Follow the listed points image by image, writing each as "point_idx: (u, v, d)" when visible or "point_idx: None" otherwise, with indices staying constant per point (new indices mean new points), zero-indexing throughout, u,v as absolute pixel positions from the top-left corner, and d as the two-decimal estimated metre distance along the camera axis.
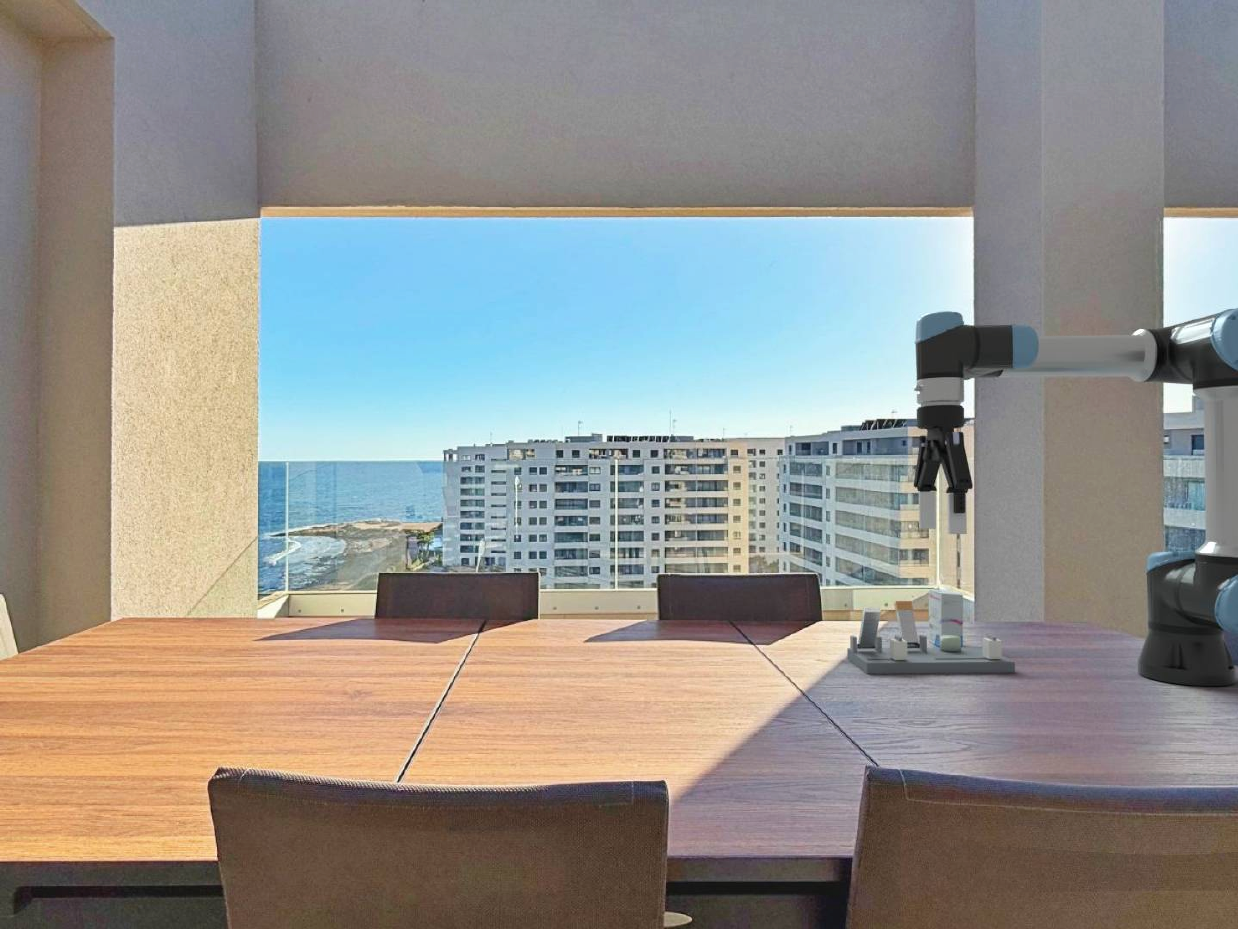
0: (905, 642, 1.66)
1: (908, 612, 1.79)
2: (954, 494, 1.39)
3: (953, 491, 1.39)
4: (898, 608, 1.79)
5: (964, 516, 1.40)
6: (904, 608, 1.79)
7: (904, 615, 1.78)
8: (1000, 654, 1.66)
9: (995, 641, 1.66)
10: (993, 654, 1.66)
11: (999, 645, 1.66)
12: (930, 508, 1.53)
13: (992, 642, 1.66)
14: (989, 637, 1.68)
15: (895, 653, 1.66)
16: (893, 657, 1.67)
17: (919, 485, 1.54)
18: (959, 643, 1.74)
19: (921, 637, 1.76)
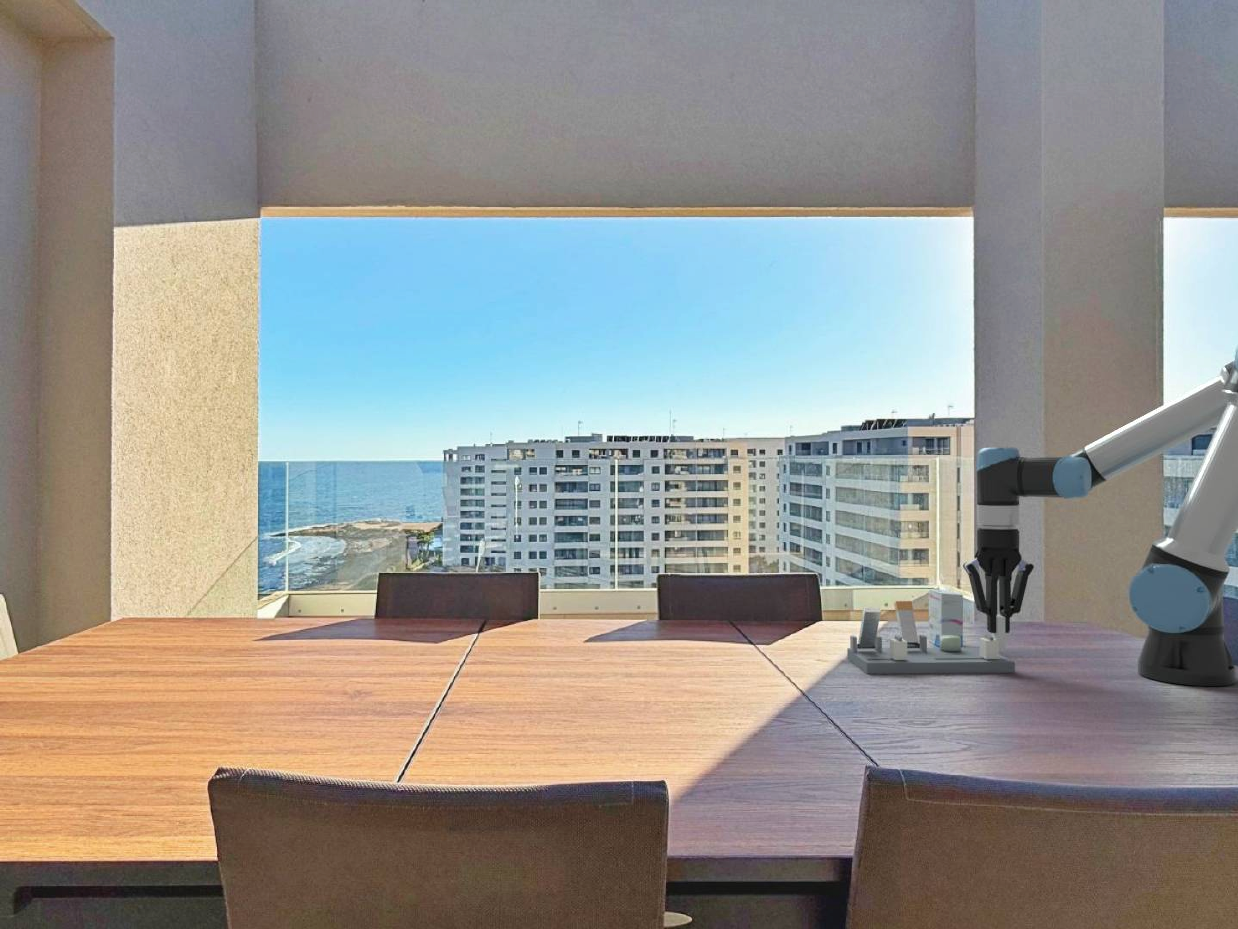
0: (905, 642, 1.66)
1: (908, 612, 1.79)
2: None
3: None
4: (898, 608, 1.79)
5: (997, 636, 1.67)
6: (904, 608, 1.79)
7: (904, 615, 1.78)
8: (997, 654, 1.66)
9: (992, 641, 1.66)
10: (990, 654, 1.66)
11: (996, 645, 1.66)
12: None
13: (989, 642, 1.66)
14: (986, 637, 1.68)
15: (895, 653, 1.66)
16: (893, 657, 1.67)
17: None
18: (959, 643, 1.74)
19: (921, 637, 1.76)
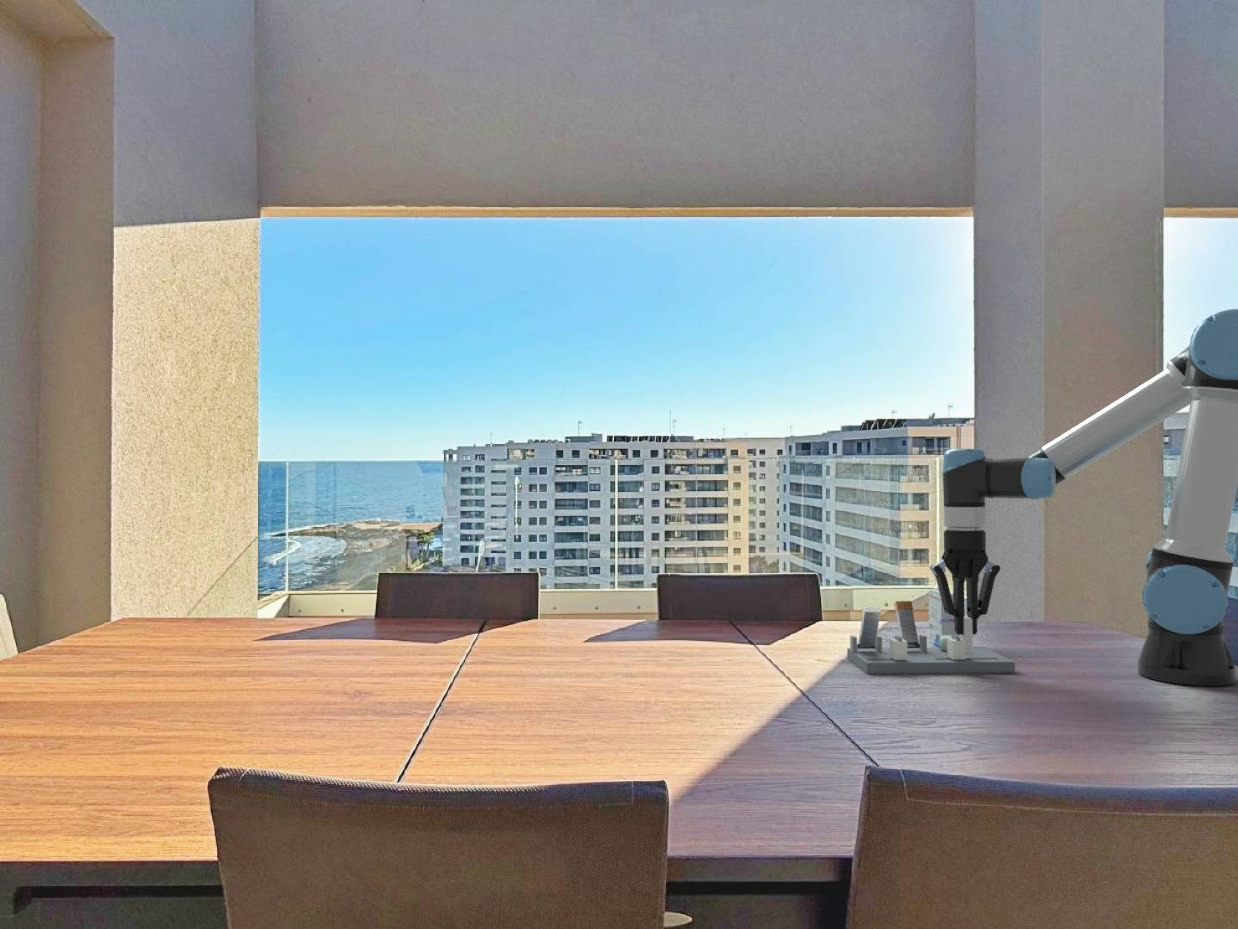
0: (905, 642, 1.66)
1: (908, 612, 1.79)
2: None
3: None
4: (898, 608, 1.79)
5: (964, 637, 1.67)
6: (904, 608, 1.79)
7: (904, 615, 1.78)
8: (964, 654, 1.66)
9: (959, 641, 1.66)
10: (957, 654, 1.66)
11: (962, 645, 1.66)
12: None
13: (955, 642, 1.66)
14: (953, 637, 1.68)
15: (895, 653, 1.66)
16: (893, 657, 1.67)
17: None
18: None
19: (921, 637, 1.76)
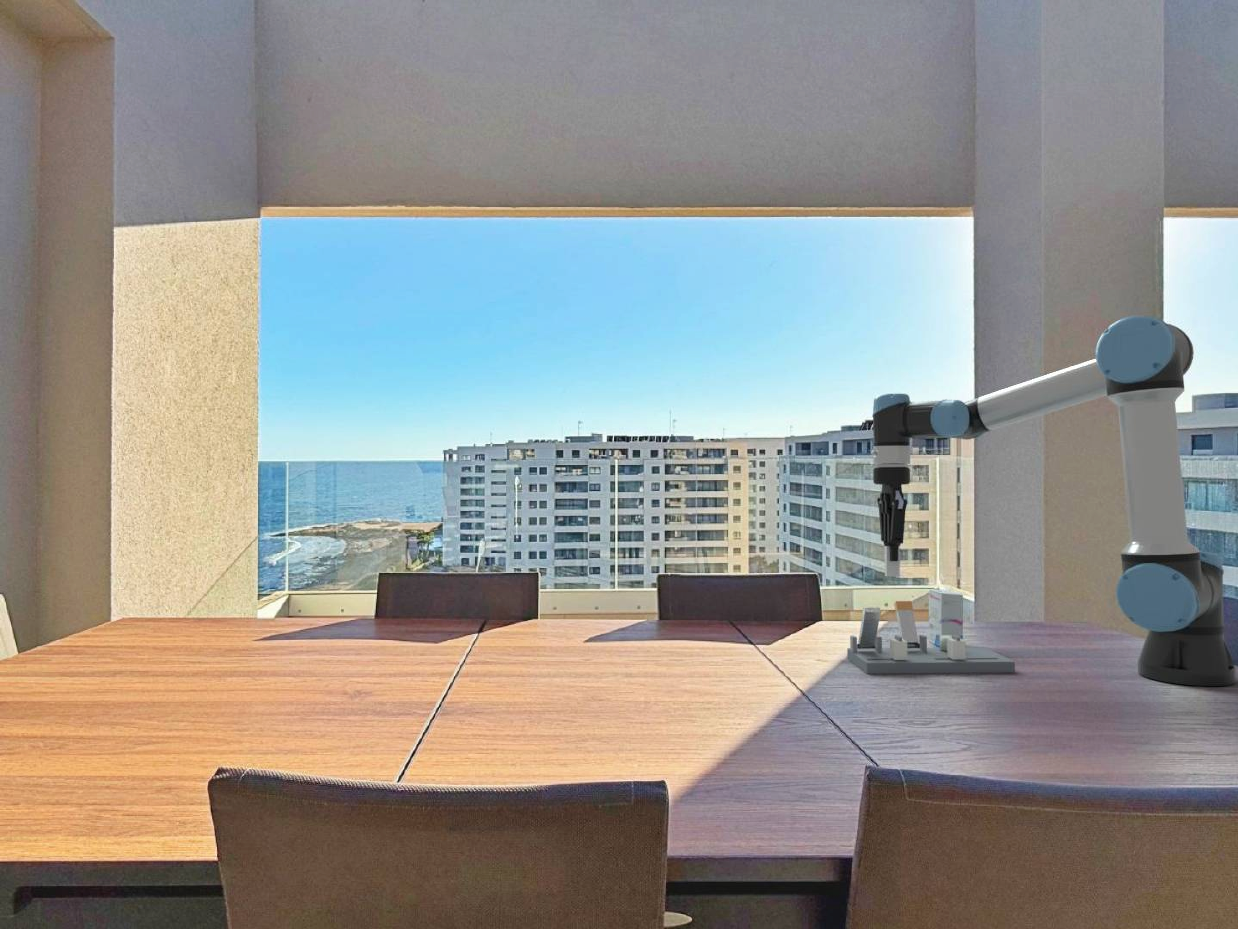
0: (905, 642, 1.66)
1: (908, 612, 1.79)
2: (890, 546, 1.86)
3: (889, 545, 1.86)
4: (898, 608, 1.79)
5: (897, 563, 1.86)
6: (904, 608, 1.79)
7: (904, 615, 1.78)
8: (964, 654, 1.66)
9: (959, 641, 1.66)
10: (957, 654, 1.66)
11: (962, 645, 1.66)
12: None
13: (955, 642, 1.66)
14: (953, 637, 1.68)
15: (895, 653, 1.66)
16: (893, 657, 1.67)
17: (884, 538, 1.88)
18: None
19: (921, 637, 1.76)
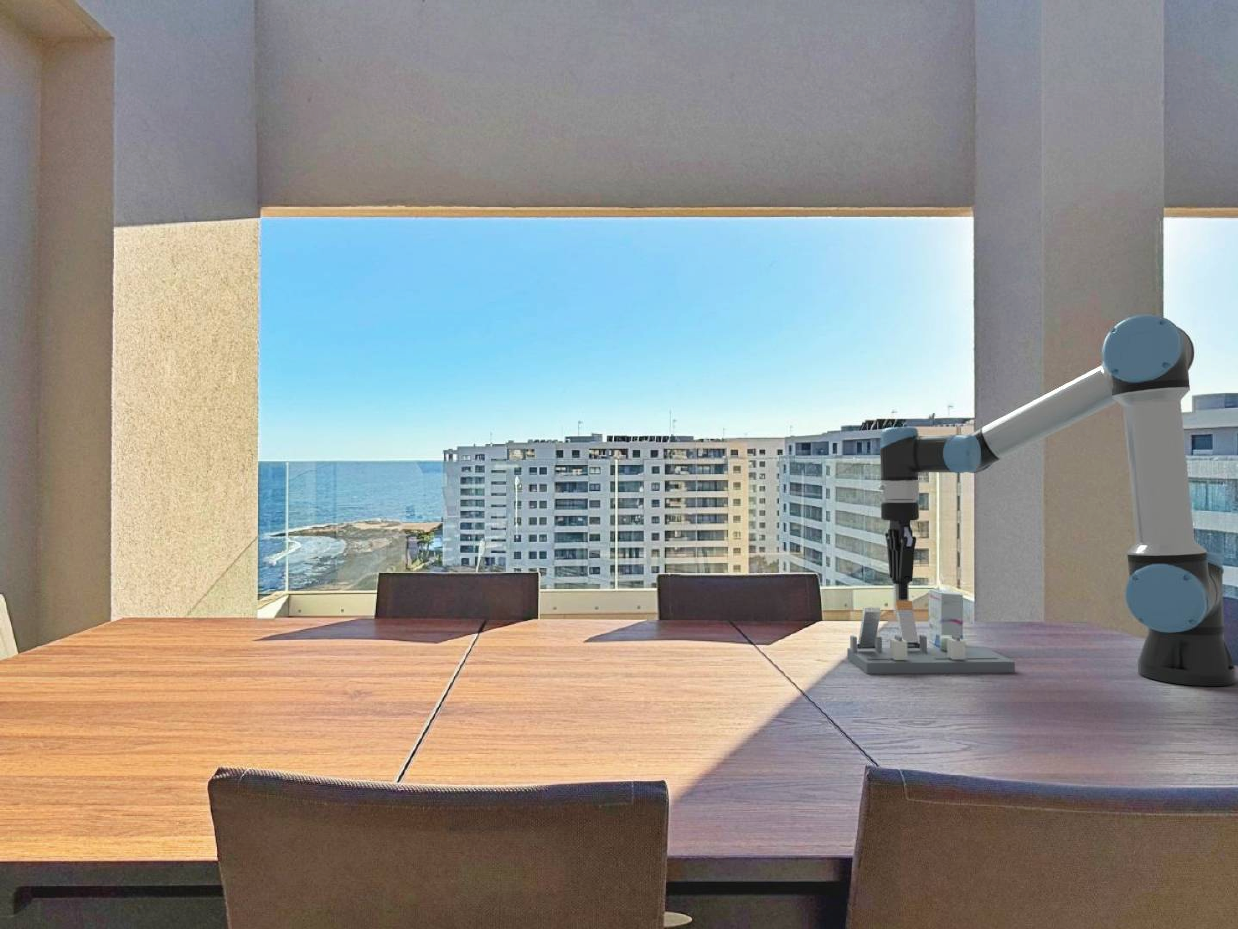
0: (905, 642, 1.66)
1: (908, 612, 1.79)
2: (899, 584, 1.81)
3: (897, 583, 1.80)
4: (898, 608, 1.79)
5: None
6: (904, 608, 1.79)
7: (904, 615, 1.78)
8: (964, 654, 1.66)
9: (959, 641, 1.66)
10: (957, 654, 1.66)
11: (962, 645, 1.66)
12: None
13: (955, 642, 1.66)
14: (953, 637, 1.68)
15: (895, 653, 1.66)
16: (893, 657, 1.67)
17: (893, 576, 1.83)
18: None
19: (921, 637, 1.76)
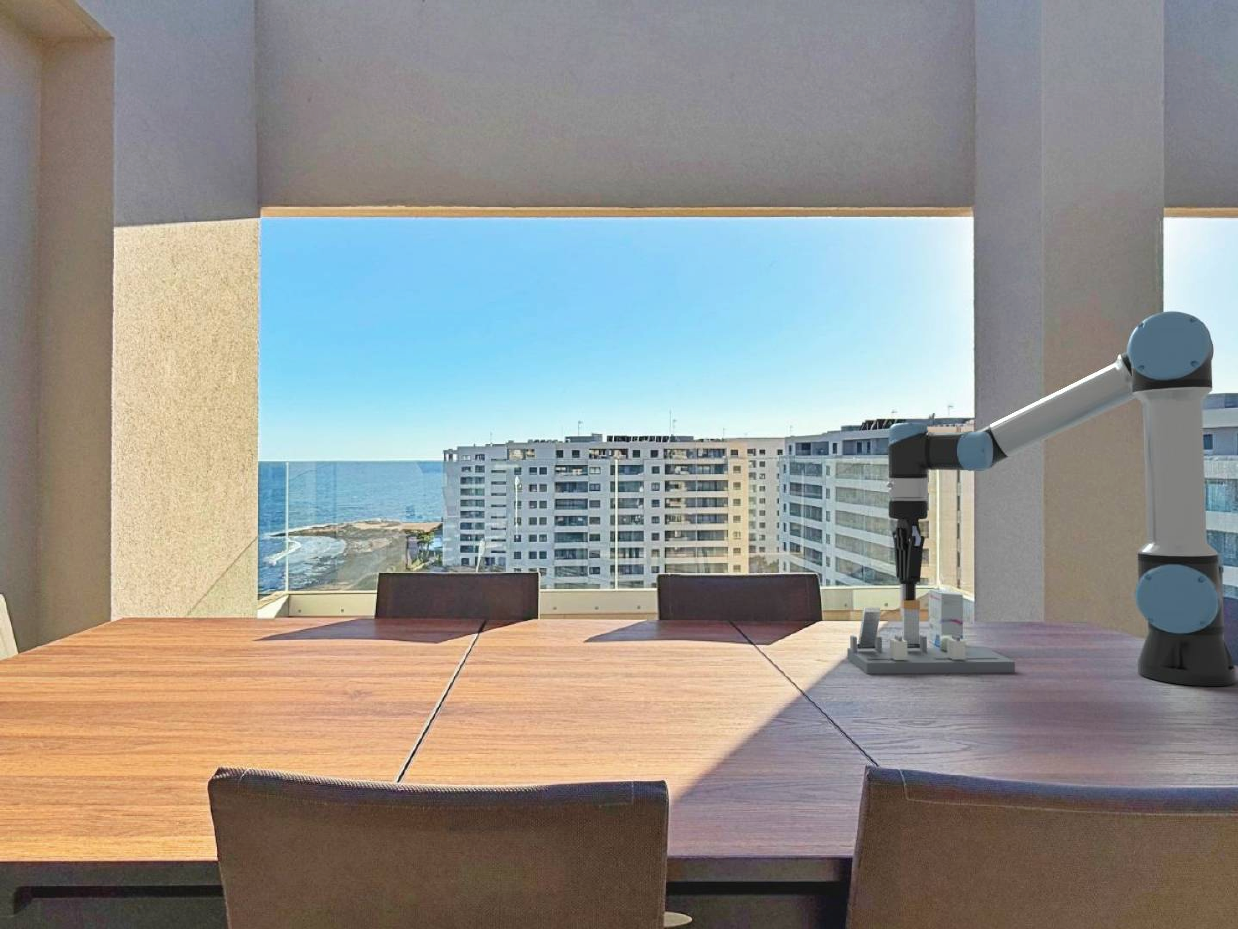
0: (905, 642, 1.66)
1: (914, 612, 1.75)
2: (906, 585, 1.76)
3: (905, 583, 1.76)
4: (905, 608, 1.75)
5: None
6: (911, 608, 1.75)
7: (910, 615, 1.75)
8: (964, 654, 1.66)
9: (959, 641, 1.66)
10: (957, 654, 1.66)
11: (962, 645, 1.66)
12: None
13: (955, 642, 1.66)
14: (953, 637, 1.68)
15: (895, 653, 1.66)
16: (893, 657, 1.67)
17: (900, 575, 1.78)
18: None
19: (921, 637, 1.76)
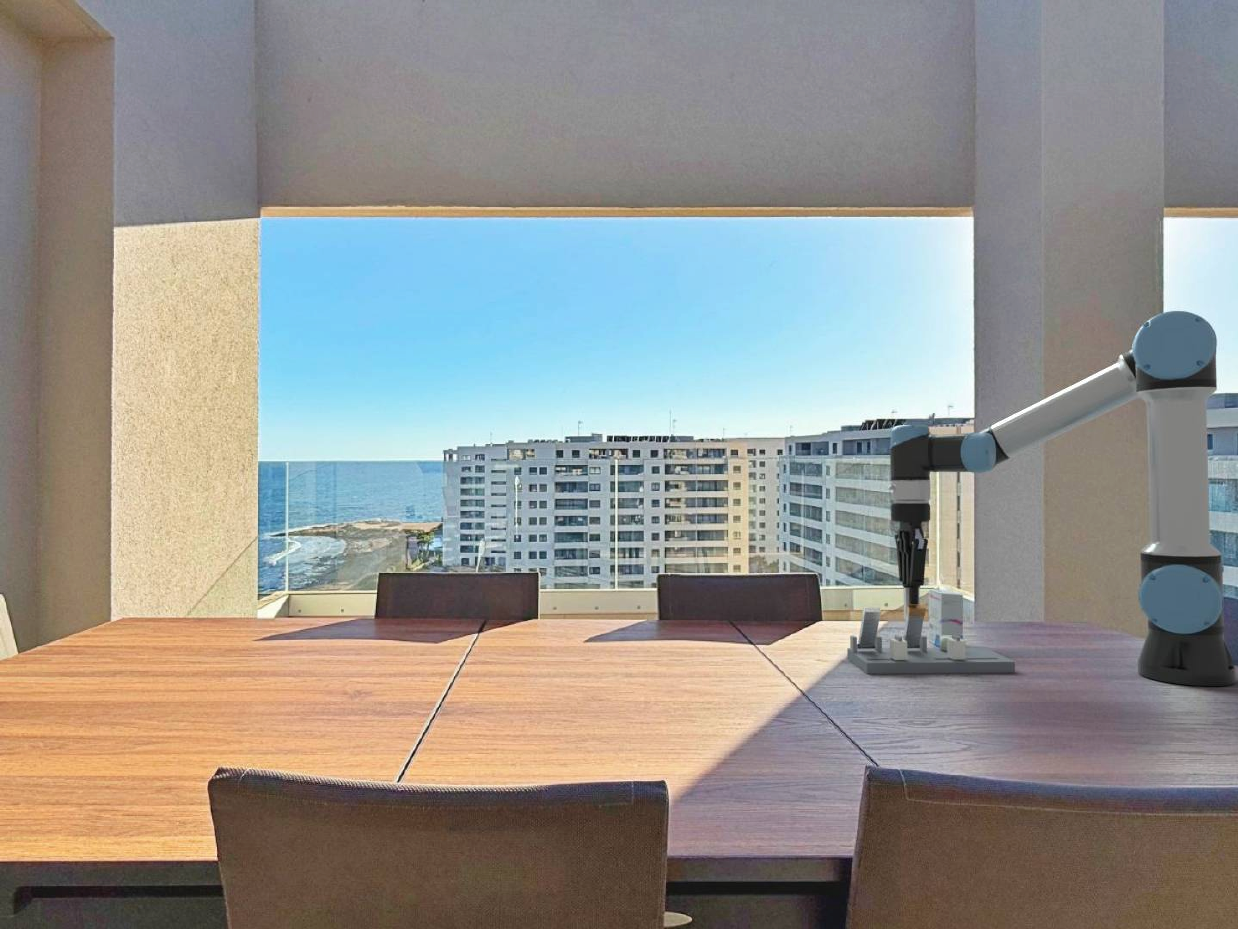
0: (905, 642, 1.66)
1: (919, 618, 1.73)
2: (909, 588, 1.74)
3: (908, 587, 1.74)
4: (909, 615, 1.72)
5: None
6: (916, 615, 1.72)
7: (913, 621, 1.73)
8: (964, 654, 1.66)
9: (959, 641, 1.66)
10: (957, 654, 1.66)
11: (962, 645, 1.66)
12: None
13: (955, 642, 1.66)
14: (953, 637, 1.68)
15: (895, 653, 1.66)
16: (893, 657, 1.67)
17: (903, 579, 1.76)
18: None
19: (921, 637, 1.76)
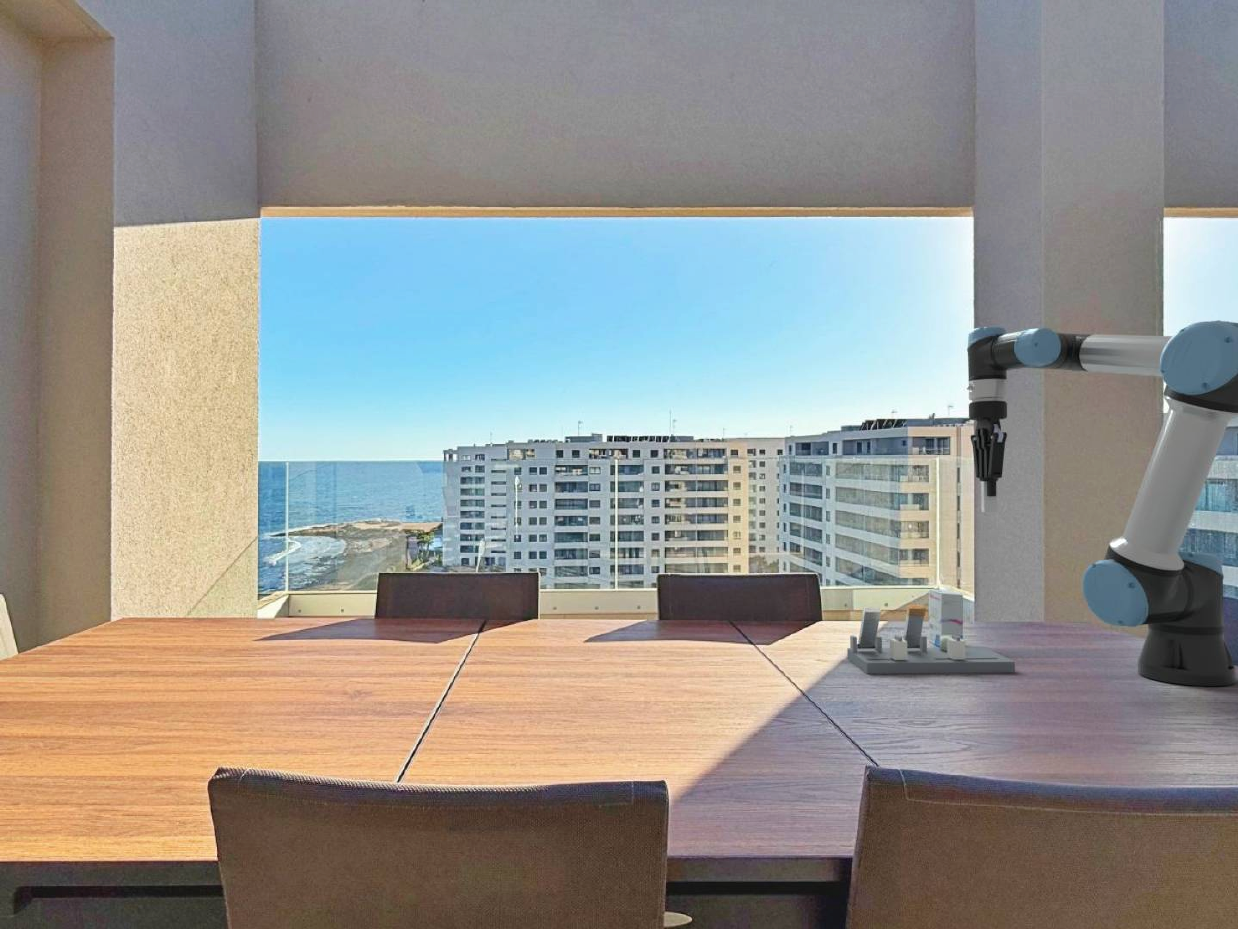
0: (905, 642, 1.66)
1: (919, 618, 1.73)
2: (987, 482, 1.84)
3: (986, 480, 1.84)
4: (909, 615, 1.72)
5: (995, 498, 1.84)
6: (916, 615, 1.72)
7: (913, 621, 1.73)
8: (964, 654, 1.66)
9: (959, 641, 1.66)
10: (957, 654, 1.66)
11: (962, 645, 1.66)
12: None
13: (955, 642, 1.66)
14: (953, 637, 1.68)
15: (895, 653, 1.66)
16: (893, 657, 1.67)
17: (980, 474, 1.86)
18: None
19: (921, 637, 1.76)
